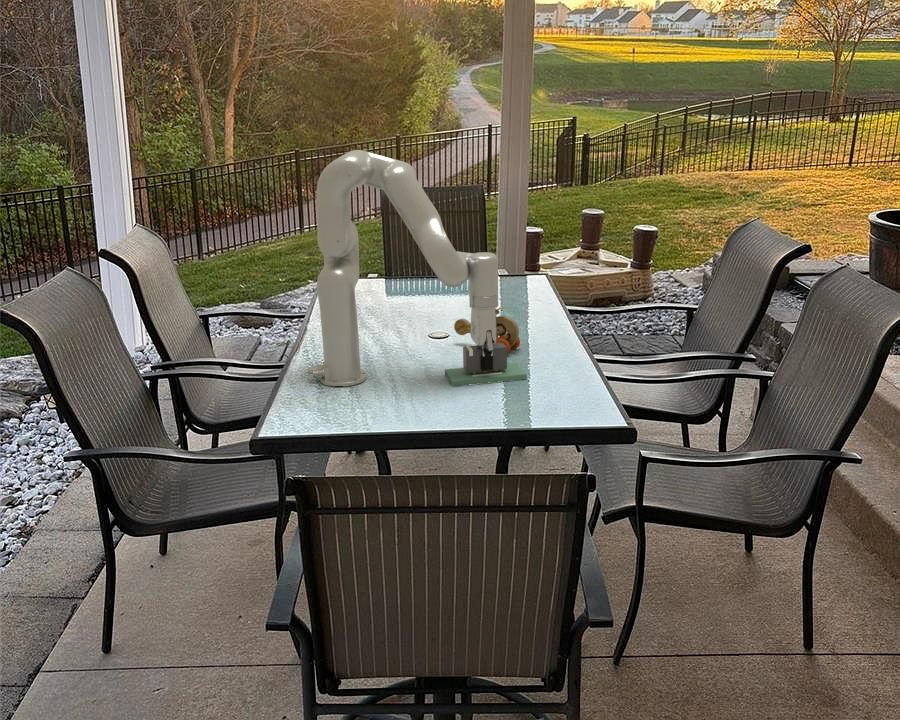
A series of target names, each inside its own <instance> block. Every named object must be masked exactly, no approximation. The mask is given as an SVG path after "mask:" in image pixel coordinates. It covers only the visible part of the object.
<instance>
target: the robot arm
mask: <svg viewBox="0 0 900 720" xmlns="http://www.w3.org/2000/svg"><path fill="white" fill-rule="evenodd" d="M319 175H320V176H319V178H318V180H317V184H316V215H317V216H316V222H317V226H316V227H317V235H316V236H317V238H316V239H317V245H318V248H319V250H320V252H321V253H322V254H323V265H324V266H323V268H322V269H321V270H320V272H319V275H318V276H317V281H316V294H317V297H318V304H319V305H318V306H319V312H320V314H319V315H320V325H321V334H322V349H323V361H322V364H319V366H307V375H312V376H313V377H315V376H316V377H317V376H319V381H320V383H322V385H325V386H329V387H335V386H343V387H350V386H355V385H359V384H361V383H363V382H364V381H366V380H367V378H368V376H367V375H368V374H367V371H366V370H363V369H362V368H361V354H360V353H361V352H360V338H359V326H358V325H359V324H358V322H359V321H358V312H357V311H358V309H357V301H356V286H357V283H358V282H359V279H360V247H359V246H360V245H359V242H360V241H359V240H360V239H359V233H358V229H357V226H356V224H355V223H354V222H353V221H352V216H351V214H352V213H351V211H352V204H351V193H352V192H353V189H355V188H359V187H360V186H362V185H364V186H368V187H370V188H375V189H379V190H382V191H384V193H385V194H386V197H387V198H388V199H389V201H390V203H391V204H392V206H393V207H394V208H395V209H394V210H396V211H397V213H398V215H399V216H400V218H401V220H403V222H404V225H405V226H406V227H407V229H408V230H409V232H410V234H411V235H412V239H413V240H414V241H415V243H416V245H418V248H419V250H420V251H421V253H422V255H423V257H424V259H425V260H426V262H427V263H428V265H429V267H430V268H431V270H432V271H433V273H434V274H435V276H436V277H437V279H438V280H439V281H440V282H441V284H443V285H445V286H446V287H448V288H459V287H460V286H462V285H463V284H464V283H465V282H466V281H467V280H468V293H469V294H468V297H469V298H468V300H469V301H468V302H469V308H470V309H471V311H470V312H471V313H470V323H471V333H470V339H471V340H472V341H473V343H474V344H475V345H476V346H477V345H478V346H481V350H482V356H481V370H482V371H487V370H493V345H495V344H496V316H497V315H495V308H496V309H498V307H499V259H498V255H496V254H495V253H493V252H487V251H486V252H485V251H482V252H474V253H473V252H465V251H464V252H463V251H457V250H456V249H455V248H454V246H453V244H452V243H451V241H450V239H449V237H448V235H447V233H446V231H445V229H444V226H443V222H442V219H441V216H440V214H439V212H438V210H437V209H436V207H435V206H434V204H433V202H432V201H431V200H430V198H429V196H428V195H427V193H426V192H425V190H424V189H423V187H422V185H421V184H420V182H419V180H418V179H417V173H416V170H415V169H414V167H413V166H412V165H411V164H410V163H408V162H406V161H403V160H400V159H399V160H398V159H395V158H391V157H387V156H384V155H380V154H376V153H373V152H369V151H366V150H361V149H353V150H350V151H348V152H346V153H344V154H343V155H340V157H337V158H335V159H334V160H332V161H331V162H330V163H329V164H328V165H326V167H324V169H323V170H322V171H321V173H320V174H319ZM484 347H487V348H485V351H484Z"/></svg>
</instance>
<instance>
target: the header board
mask: <svg viewBox="0 0 900 720" xmlns="http://www.w3.org/2000/svg"><path fill="white" fill-rule="evenodd" d="M527 374H528V373H526V372H525V370H523V368H521V366H520V365H519V364H518V363H517V362H509V363H508V362H507V369H500V370H489V371H478V372H468V373H467V372H466V371H465V370H464V368H463V367H457V368H445V369H444V376H445V377H446V379H447V380H448V382H449V384H450V383H451V384H450V386H451V387H452V386H453V387H454V386H456V387H463V386H462V385H467V386H470V385H469V384H477V383H487V384H489V383H488V382H497V383H499V382H498V381H507V382H512V381H511V380H517V381H523V380H522V379H528V378H527ZM477 385H478V384H477ZM453 387H452V388H453Z"/></svg>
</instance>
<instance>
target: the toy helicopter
mask: <svg viewBox="0 0 900 720" xmlns="http://www.w3.org/2000/svg"><path fill="white" fill-rule="evenodd" d="M503 309H505V306H503V307H502V306H501V307H499V308H498V307H497V308H495V315H496V344H499V343H503V344H504V345H505V346H506V347H507V355H508V354H509V353H510V351H513V350H516V349H519V347H520V345H521V340H520V339H521V338H520V337H519V335H520V334H519V333H520V329H519V325H518V324H517V322H516V321H515V320H514V319H513V318H511V317H509V316H502V315H500V316H499V314H500V313H501V312H500V310H503ZM497 315H498V316H497ZM453 329H454V331H455V332H456V334H457V335H459V336H466V335H467V334H471V321H469V320H468V319H466V318H459V319H456V320H455V322H454V324H453Z"/></svg>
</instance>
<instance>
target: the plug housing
mask: <svg viewBox="0 0 900 720" xmlns="http://www.w3.org/2000/svg"><path fill="white" fill-rule="evenodd" d="M485 348H487V347H484V351H485ZM481 356H482V350H481V346H478V345H477V344H476V345H465V346H462V359H463V360H462V366H463V367H462V368H464V370H465V371H466V372H467V373H468V372H478V371H482V370H481ZM507 363H508V354H507V347H506V346H505V345H504V344H503V343H499V344H495V345H493V370H500V369H507ZM487 371H489V370H487Z"/></svg>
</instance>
